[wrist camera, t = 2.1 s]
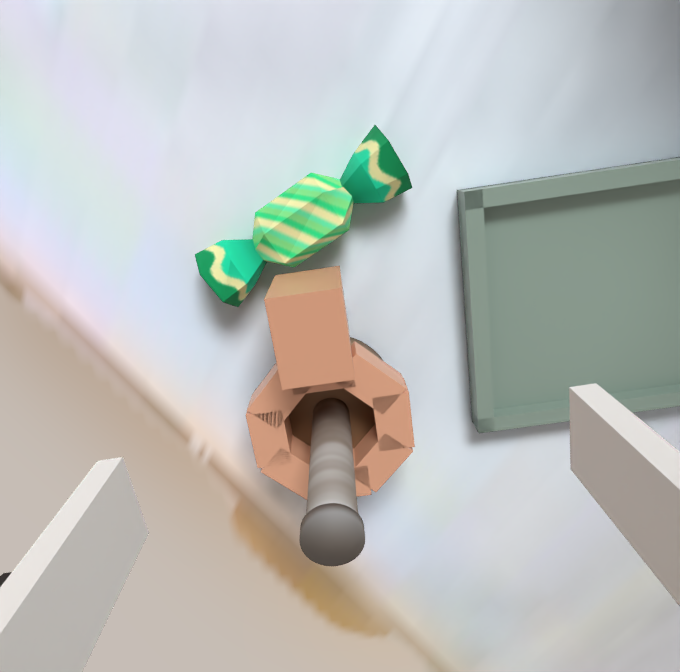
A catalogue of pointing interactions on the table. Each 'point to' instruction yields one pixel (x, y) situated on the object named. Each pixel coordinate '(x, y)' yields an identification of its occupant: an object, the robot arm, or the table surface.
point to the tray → (572, 291)
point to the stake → (332, 472)
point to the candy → (304, 219)
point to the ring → (323, 384)
